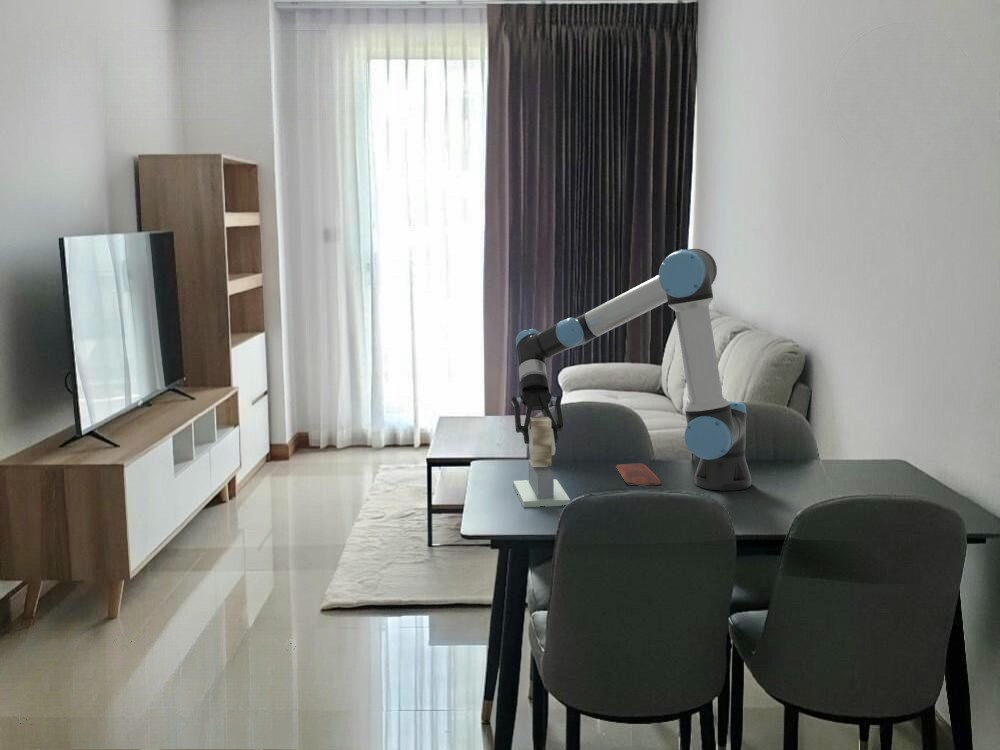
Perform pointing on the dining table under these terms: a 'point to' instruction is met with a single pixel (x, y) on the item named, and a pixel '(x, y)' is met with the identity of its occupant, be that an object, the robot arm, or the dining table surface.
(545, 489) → the ridge stand
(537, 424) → the birch block
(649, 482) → the wooden tablet
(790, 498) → the dining table surface
